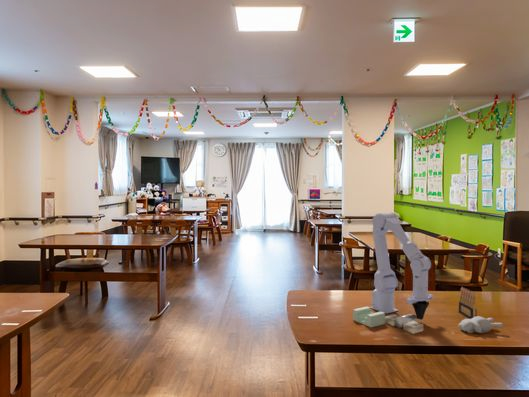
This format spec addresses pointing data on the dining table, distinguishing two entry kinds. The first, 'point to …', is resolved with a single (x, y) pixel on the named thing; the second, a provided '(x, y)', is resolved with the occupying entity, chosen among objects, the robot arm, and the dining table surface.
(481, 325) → the bunny figurine
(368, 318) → the v block
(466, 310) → the ammunition clip
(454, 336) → the dining table surface
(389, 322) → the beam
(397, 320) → the axle
